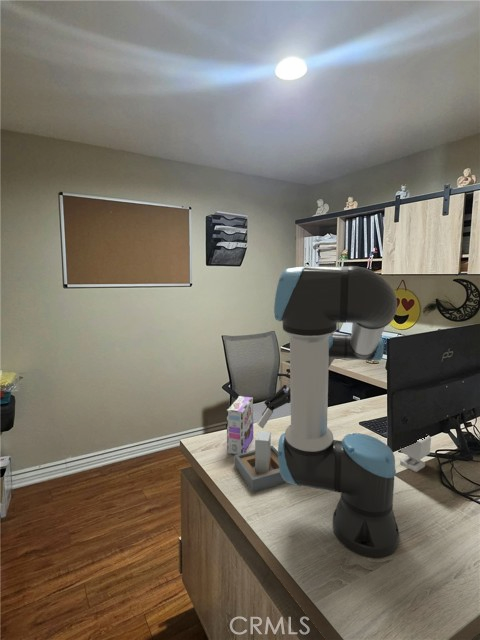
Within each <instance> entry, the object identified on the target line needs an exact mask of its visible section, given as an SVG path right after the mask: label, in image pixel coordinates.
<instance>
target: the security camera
mask: <svg viewBox="0 0 480 640" xmlns="http://www.w3.org/2000/svg"><path fill="white" fill-rule="evenodd" d="M422 439H423V440H422ZM422 439H419V440H417V442H416V443H414V444H412V445H410V446H408V447H406V448H403V449H401V448H400V452H401V453H402V454H404V455H406V456H405V457H403V458H401V459H400V462H399V465H401V466H403V467H406V468H407V469H410V470H411V471H413V472H416V473H417V472H419V471H420V470H422V469H424V468H425V466H426V462H425V461H423V460H422V459H423V458H425V457H426V456H428V455H429V454H430V453H431V445H432V443H431V441H432V438H431V435H428V436H427V437H425V439H424V438H422Z"/></svg>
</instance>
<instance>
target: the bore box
mask: <svg viewBox="0 0 480 640" xmlns="http://www.w3.org/2000/svg"><path fill="white" fill-rule="evenodd" d="M234 467H235V469H236V471H237V472H238V474H239V475H240V476H241V478H242V479H243V481H244V482H245V484H246V485H247V486H248V488H249V489H250V491H251V492H252V493H256V492H260V491H263V490H266V489H270V488H273V487H276V486H279V485H281V484H283V485H284V484H286V483H287V482H286V481H284V480H283V478H282V476H281V474H280V470H279V464H278V449H276V448H275V447H274V446H273V445H271V466H270V470H269V471H268V472H264V473H260V474H257V473H256V472H255V449H254V450H249V451H245V453H241V454H237V455H234Z"/></svg>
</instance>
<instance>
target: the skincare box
mask: <svg viewBox="0 0 480 640" xmlns="http://www.w3.org/2000/svg"><path fill="white" fill-rule="evenodd" d="M271 436H272V435H271V431H264V430H263V431H262V430H258V432H257V434H256V436H255V438H254V439H255V440H254V450H255V472H256V473H257V474H260V473H264V472H268V471H269V470H270V466H271V446H272V444H271V441H272V439H271V438H272V437H271Z"/></svg>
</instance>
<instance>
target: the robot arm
mask: <svg viewBox="0 0 480 640" xmlns="http://www.w3.org/2000/svg"><path fill="white" fill-rule="evenodd" d="M273 310H274V311H273V313H274V319H275V320H276V321H278V322H282V330H283V332H285V334H286V335H288V336H289V368H290V369H289V373H290V375H289V378H290V379H289V382H290V383H289V384H290V385H289V387H288V386H287V385H286V384H284V385H283V386H281V388H280V389H279V390H278V391H277V392H275V393H274V394H273V395H271V396H270V397H269V398H267V399H266V400H265V401H264V404H265V406H266V408H265V410H264V411H263V412H262V414H261V417H260V419H259V420H258V422H257V423H256V425H257V426H259V427H260V428H261V429H264V427H265V426H266V425H267V423H268V422H269V420H270V419H271V417H272V415H273V414H274V410H276V409H278V408H280V407H282V406H284V405H286V404H290V425H288V427H286V428H285V431H284V433H282V434H281V435H280V436H279V438H278V439H279V440H278V444H277V445H278V446H277V451H278V464H279V470H280V474H281V476H282V478H283V480H284V481H286V483H289V484H291V485H292V484H293V485H295V486H298V487H306V488H311V489H312V488H313V489H318V490H324V491H330V492H335V493H340V498H339V500H338V503H337V504H336V508H335V510H334V511H333V514H332V530H333V532H334V535H335V536H336V538H337V539H338V540H339V542H340V543H341V544H342V545H343V546H344V547H345V548H347V550H348V549H349V550H350V551H352V552H353V553H355V554H358V555H361V556H363V557H366V558H375V559H376V558H377V559H378V558H379V559H380V558H385V557H389V556H390V555H392V554H393V553H395V552H396V550H397V549H398V547H399V543H400V542H399V541H400V531H399V527H398V524H397V521H396V516H395V513H394V510H393V503H394V492H395V491H394V489H395V476H396V474H397V473H396V472H397V471H396V470H397V469H396V456H395V454H394V452H393V450H392V449H391V448H390V446H388V445H387V444H386V443H385V442H383V441H381V440H380V439H378V438H376V437H374V436H371V435H368V434H364V433H359V432H358V433H357V432H355V433H349V434H346V435H345V436H344V437H343V438H342V440H338V439H334V434H333V432H332V431H331V429H330V427H329V428H328V409H329V407H328V403H329V402H328V401H329V400H328V399H329V396H328V395H329V368H330V367H331V365H332V363H333V361H334V360H335V359H344V360H345V359H346V360H358V361H359V360H361V361H368V362H369V361H370V362H371V361H381V360H382V359H383V356H384V346H385V345H384V339H383V337H382V336H383V333H384V330H385V328H386V327H387V326H389V324H391V323H392V321H393V320H394V318H395V316H396V314H397V310H398V299H397V296H396V293H395V291H394V289H393V287H392V286H391V285H390V283H389V282H388V281H387V280H386V279H385V278H383V277H382V276H381V275H380V274H378V273H376V272H375V271H374V270H371V269H369V268H366V267H361V266H358V265H356V266H355V265H349V266H345V265H344V266H304V265H303V266H296V267H289V268H288V267H287V268H285V269H284V270H283V271H282V272H281V274H280V277H279V279H278V281H277V287H276V290H275V297H274V307H273ZM338 323H342V324H344V323H345V324H346V323H350V324H351V326H352V327H351V332H350V333H351V334H338V333H337V334H336V332H337V330H338V329H337V328H338V326H337V325H338Z"/></svg>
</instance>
